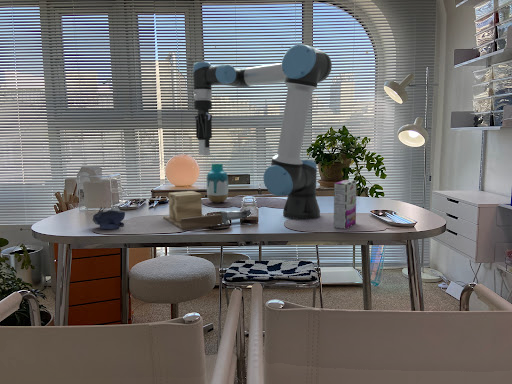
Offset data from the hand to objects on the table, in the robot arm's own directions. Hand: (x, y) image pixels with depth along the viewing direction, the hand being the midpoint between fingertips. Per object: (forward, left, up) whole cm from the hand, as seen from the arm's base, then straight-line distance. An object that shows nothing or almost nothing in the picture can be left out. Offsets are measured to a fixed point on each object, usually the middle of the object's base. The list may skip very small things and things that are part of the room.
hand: (204, 154), depth 174 cm
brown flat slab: (-10, +22, -25) cm, 35 cm away
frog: (+11, +43, -25) cm, 51 cm away
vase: (+8, -20, -25) cm, 33 cm away
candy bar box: (-63, -2, -25) cm, 68 cm away
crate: (-5, +19, -24) cm, 31 cm away
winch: (-26, +13, -25) cm, 38 cm away
